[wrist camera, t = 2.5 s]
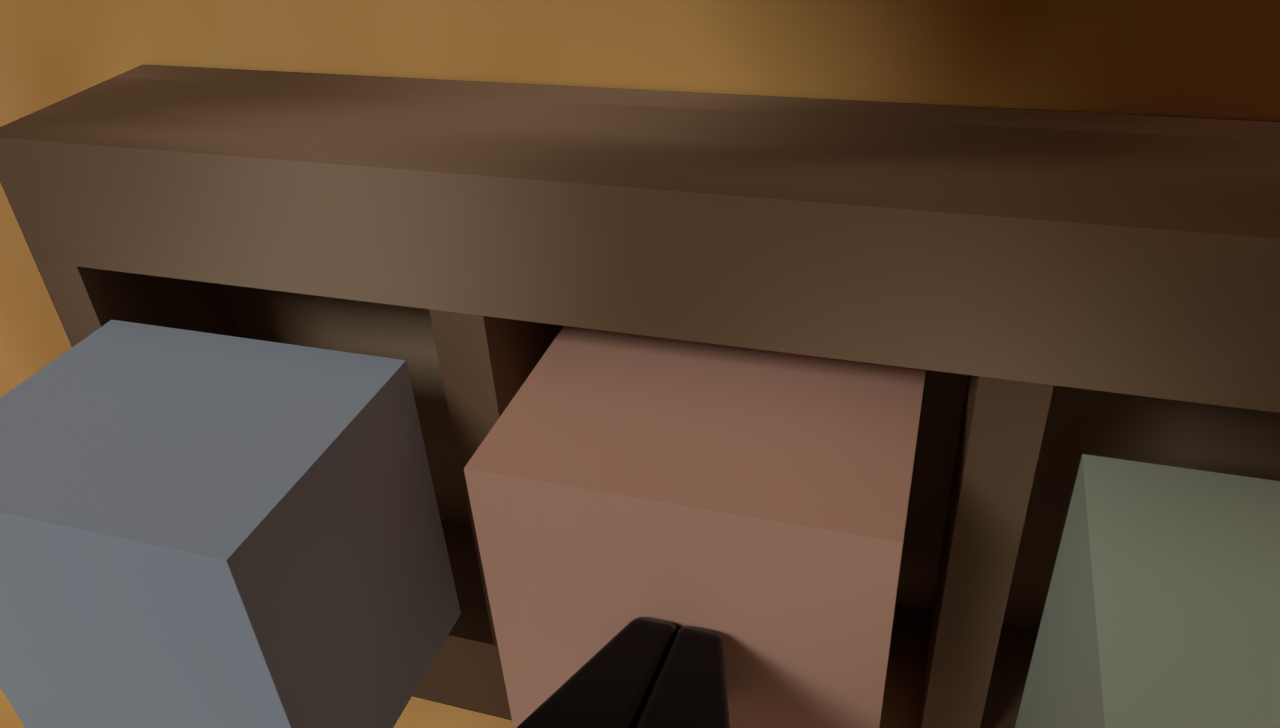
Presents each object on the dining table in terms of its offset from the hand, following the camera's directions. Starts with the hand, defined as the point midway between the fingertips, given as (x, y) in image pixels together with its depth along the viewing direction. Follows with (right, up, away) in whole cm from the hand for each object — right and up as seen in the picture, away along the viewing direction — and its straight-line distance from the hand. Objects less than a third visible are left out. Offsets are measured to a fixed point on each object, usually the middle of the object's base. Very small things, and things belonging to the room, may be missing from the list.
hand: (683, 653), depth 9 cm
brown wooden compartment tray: (+1, +2, +3) cm, 4 cm away
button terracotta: (+1, +2, +2) cm, 3 cm away
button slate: (-5, +1, +3) cm, 5 cm away
